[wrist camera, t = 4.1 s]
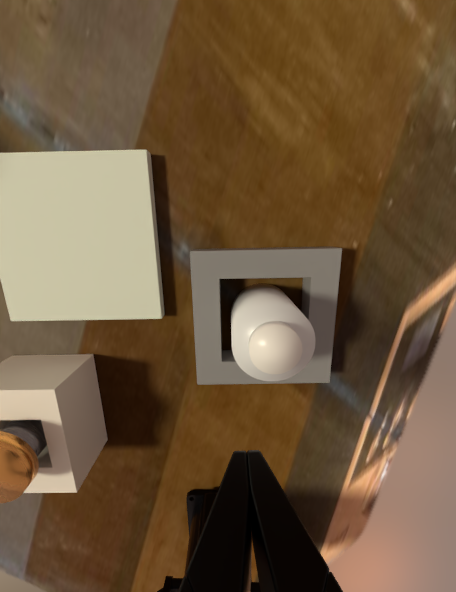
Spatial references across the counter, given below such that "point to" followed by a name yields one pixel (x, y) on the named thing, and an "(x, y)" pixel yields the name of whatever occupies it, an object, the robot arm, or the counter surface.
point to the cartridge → (270, 334)
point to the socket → (263, 264)
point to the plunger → (19, 456)
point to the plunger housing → (56, 414)
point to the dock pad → (79, 236)
